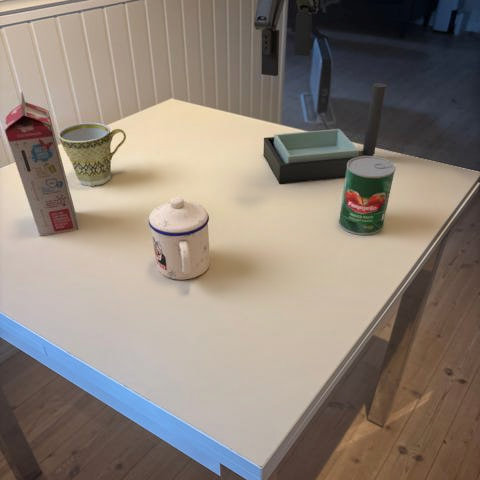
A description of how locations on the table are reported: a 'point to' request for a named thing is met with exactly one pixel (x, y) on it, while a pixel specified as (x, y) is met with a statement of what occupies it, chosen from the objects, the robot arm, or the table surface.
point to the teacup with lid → (180, 238)
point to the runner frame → (303, 167)
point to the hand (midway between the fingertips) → (286, 64)
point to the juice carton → (40, 168)
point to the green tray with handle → (331, 138)
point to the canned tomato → (366, 194)
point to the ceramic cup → (90, 151)
